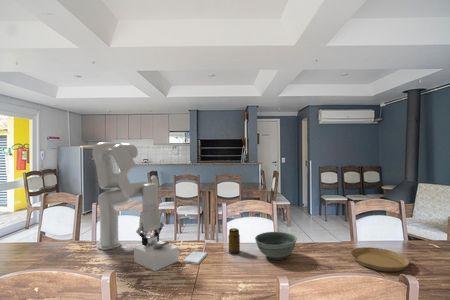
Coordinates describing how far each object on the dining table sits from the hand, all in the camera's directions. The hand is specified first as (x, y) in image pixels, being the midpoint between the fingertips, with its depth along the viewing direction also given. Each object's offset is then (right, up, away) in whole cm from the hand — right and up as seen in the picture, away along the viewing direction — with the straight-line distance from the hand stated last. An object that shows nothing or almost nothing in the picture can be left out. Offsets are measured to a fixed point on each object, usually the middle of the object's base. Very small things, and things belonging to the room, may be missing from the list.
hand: (150, 243), depth 132 cm
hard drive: (+23, -9, 0) cm, 24 cm away
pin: (0, -6, 0) cm, 6 cm away
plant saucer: (+111, -7, -7) cm, 112 cm away
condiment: (+43, -8, +8) cm, 44 cm away
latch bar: (+7, 0, -6) cm, 9 cm away
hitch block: (+3, -8, -3) cm, 9 cm away
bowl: (+64, -8, +1) cm, 64 cm away
